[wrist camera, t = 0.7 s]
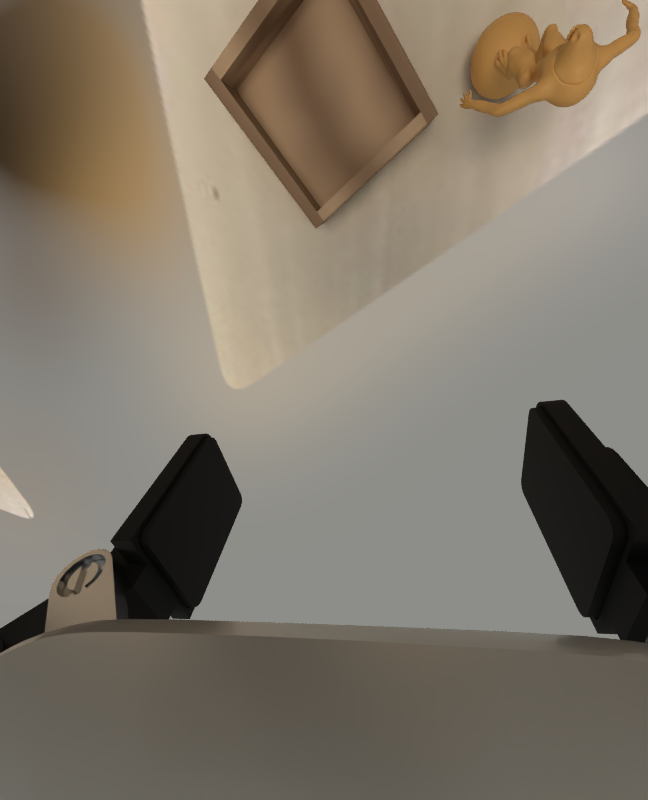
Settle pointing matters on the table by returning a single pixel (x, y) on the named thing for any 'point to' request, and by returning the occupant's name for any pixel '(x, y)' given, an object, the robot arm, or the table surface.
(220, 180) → the table surface
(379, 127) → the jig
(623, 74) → the table surface
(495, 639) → the robot arm
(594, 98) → the table surface
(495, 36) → the figurine
